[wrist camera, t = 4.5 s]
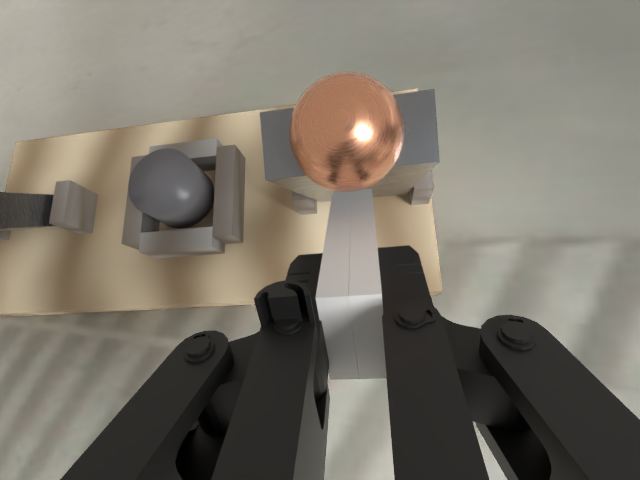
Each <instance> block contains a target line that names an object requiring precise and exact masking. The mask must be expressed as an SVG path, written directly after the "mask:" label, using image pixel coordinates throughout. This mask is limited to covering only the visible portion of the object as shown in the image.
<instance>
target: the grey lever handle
mask: <svg viewBox="0 0 640 480" xmlns="http://www.w3.org/2000/svg"><path fill="white" fill-rule="evenodd" d="M53 196H54V195H50V194H28V193H6V192H0V231H11V230H22V229H33V228H44V227H55V225H52V224H49V219H50V213H51V208H52V202H53Z"/></svg>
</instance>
